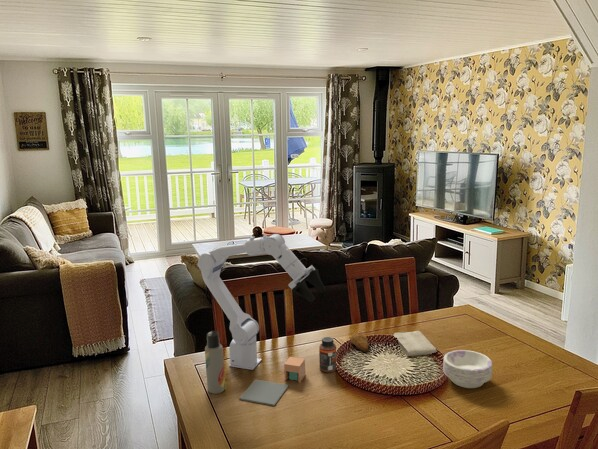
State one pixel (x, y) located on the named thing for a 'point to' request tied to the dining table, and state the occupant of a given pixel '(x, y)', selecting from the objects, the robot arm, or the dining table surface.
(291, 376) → the teal cube
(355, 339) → the croissant
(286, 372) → the terracotta cover
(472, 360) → the paper bowls
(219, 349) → the lotion bottle
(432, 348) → the washcloth
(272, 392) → the slate mat
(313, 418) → the dining table surface
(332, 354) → the supplement bottle
